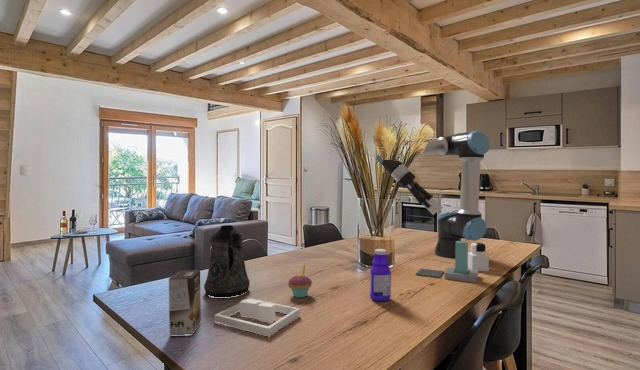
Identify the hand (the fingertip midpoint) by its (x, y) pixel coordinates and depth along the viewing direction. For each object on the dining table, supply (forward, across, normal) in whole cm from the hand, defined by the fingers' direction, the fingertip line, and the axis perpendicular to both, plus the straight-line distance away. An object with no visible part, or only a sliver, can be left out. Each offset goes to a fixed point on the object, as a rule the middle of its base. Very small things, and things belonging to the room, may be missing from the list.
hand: (438, 211), depth 153 cm
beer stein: (-27, +57, -67) cm, 92 cm away
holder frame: (-10, +73, -49) cm, 88 cm away
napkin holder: (-10, +73, -50) cm, 88 cm away
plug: (+26, 0, -13) cm, 29 cm away
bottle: (+10, +40, -29) cm, 50 cm away
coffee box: (-20, +87, -60) cm, 107 cm away
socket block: (+26, 0, -13) cm, 29 cm away
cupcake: (-9, +49, -49) cm, 69 cm away
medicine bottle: (+30, -17, -9) cm, 36 cm away
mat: (+17, 0, -22) cm, 28 cm away
